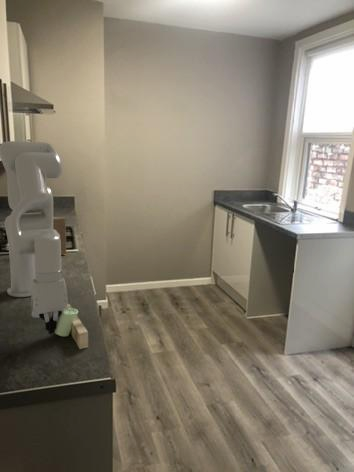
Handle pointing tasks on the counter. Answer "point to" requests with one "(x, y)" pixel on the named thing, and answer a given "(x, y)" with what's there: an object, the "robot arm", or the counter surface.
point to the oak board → (79, 333)
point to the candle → (65, 322)
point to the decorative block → (61, 231)
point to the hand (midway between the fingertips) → (51, 331)
